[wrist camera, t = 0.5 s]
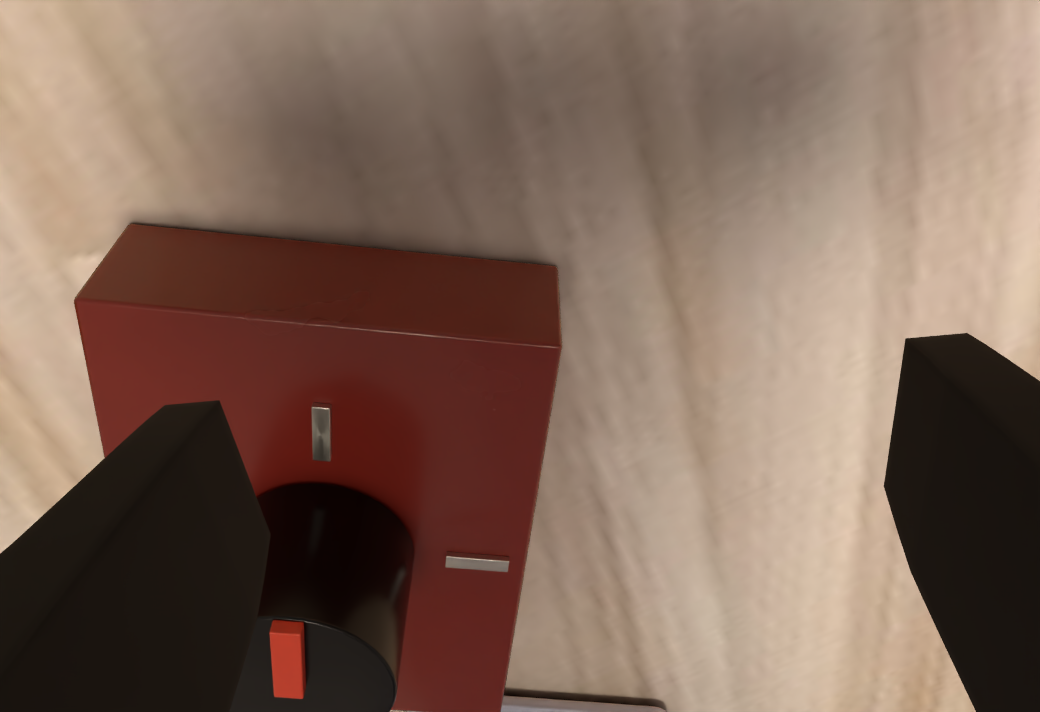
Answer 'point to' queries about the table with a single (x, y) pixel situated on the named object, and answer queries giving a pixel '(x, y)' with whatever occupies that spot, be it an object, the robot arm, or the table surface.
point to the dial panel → (356, 404)
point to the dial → (328, 604)
